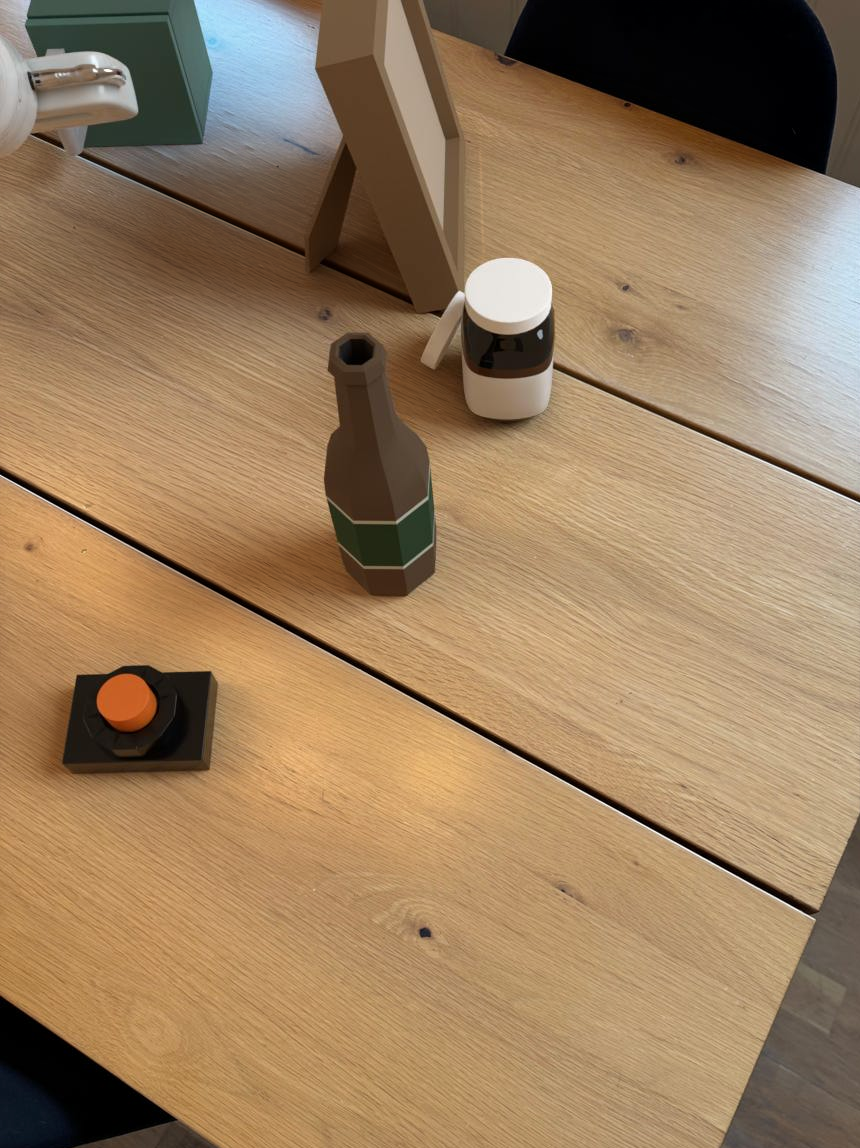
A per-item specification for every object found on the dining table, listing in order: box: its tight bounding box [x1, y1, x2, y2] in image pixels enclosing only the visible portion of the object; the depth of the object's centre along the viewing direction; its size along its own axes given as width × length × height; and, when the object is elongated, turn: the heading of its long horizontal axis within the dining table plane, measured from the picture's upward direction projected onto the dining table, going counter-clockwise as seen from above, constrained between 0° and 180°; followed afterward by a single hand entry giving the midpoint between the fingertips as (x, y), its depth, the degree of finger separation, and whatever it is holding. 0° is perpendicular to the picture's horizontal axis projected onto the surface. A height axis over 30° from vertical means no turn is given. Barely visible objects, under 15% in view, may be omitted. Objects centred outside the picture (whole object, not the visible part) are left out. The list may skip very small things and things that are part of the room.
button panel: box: [61, 664, 219, 775], centre depth 76 cm, size 10×7×4 cm
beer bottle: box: [323, 331, 437, 596], centre depth 73 cm, size 8×8×24 cm
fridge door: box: [24, 15, 204, 157], centre depth 100 cm, size 7×13×13 cm, turn 91°
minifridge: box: [26, 0, 214, 137], centre depth 104 cm, size 10×13×13 cm
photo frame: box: [304, 0, 466, 315], centre depth 90 cm, size 15×22×25 cm
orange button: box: [97, 674, 157, 732], centre depth 74 cm, size 4×4×2 cm
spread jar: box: [420, 257, 556, 422], centre depth 87 cm, size 12×11×12 cm
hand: (22, 122), depth 85 cm, fingers open, 8 cm apart
